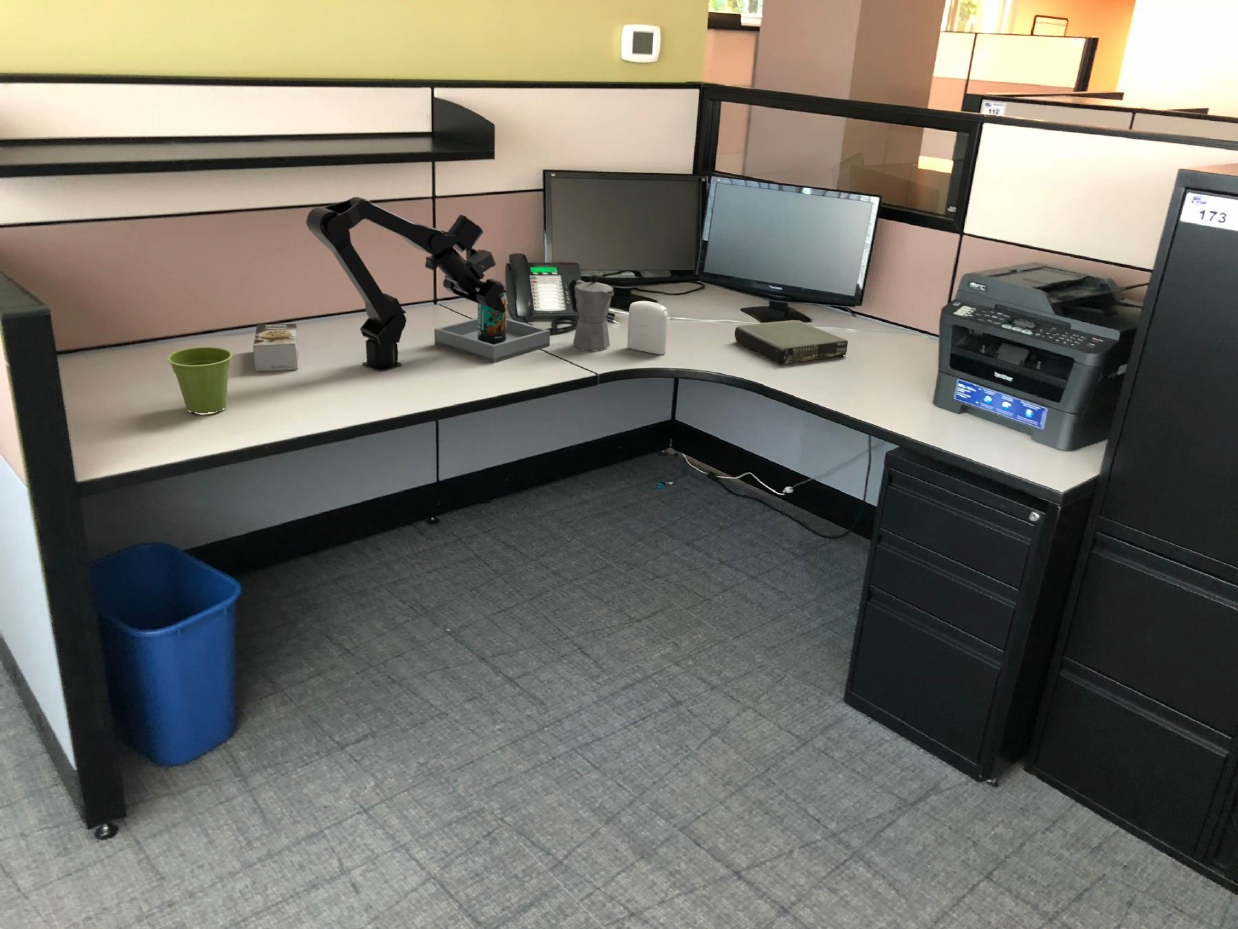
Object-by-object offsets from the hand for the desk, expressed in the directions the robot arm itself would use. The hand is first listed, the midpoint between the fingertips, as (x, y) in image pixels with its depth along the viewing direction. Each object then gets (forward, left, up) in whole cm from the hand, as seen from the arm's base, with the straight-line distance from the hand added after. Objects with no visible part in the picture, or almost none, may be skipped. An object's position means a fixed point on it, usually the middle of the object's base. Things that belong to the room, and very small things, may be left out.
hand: (493, 307), depth 247 cm
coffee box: (-49, +18, -6) cm, 53 cm away
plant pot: (-73, +8, -10) cm, 74 cm away
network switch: (+53, -54, -10) cm, 76 cm away
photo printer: (+25, -29, -10) cm, 39 cm away
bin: (0, 0, -10) cm, 10 cm away
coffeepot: (+18, -16, -10) cm, 26 cm away
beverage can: (0, 0, -9) cm, 9 cm away
